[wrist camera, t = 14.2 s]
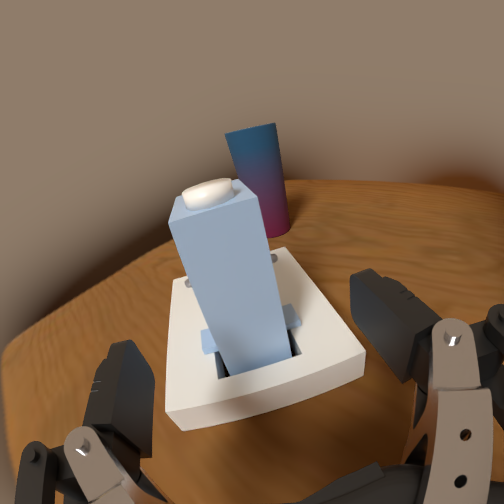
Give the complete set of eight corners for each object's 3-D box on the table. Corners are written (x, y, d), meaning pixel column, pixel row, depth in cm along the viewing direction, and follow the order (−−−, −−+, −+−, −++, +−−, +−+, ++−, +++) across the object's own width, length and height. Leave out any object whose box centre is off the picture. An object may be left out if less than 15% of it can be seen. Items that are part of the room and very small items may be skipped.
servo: (212, 344, 21) (153, 191, 16) (289, 321, 22) (255, 161, 16) (219, 396, 16) (134, 215, 11) (313, 367, 17) (281, 171, 12)
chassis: (181, 299, 29) (172, 276, 27) (288, 267, 30) (284, 243, 28) (182, 431, 14) (162, 408, 13) (363, 375, 15) (366, 346, 14)
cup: (252, 225, 43) (229, 132, 37) (295, 218, 42) (276, 122, 36) (247, 244, 37) (219, 134, 31) (297, 236, 36) (274, 122, 30)
